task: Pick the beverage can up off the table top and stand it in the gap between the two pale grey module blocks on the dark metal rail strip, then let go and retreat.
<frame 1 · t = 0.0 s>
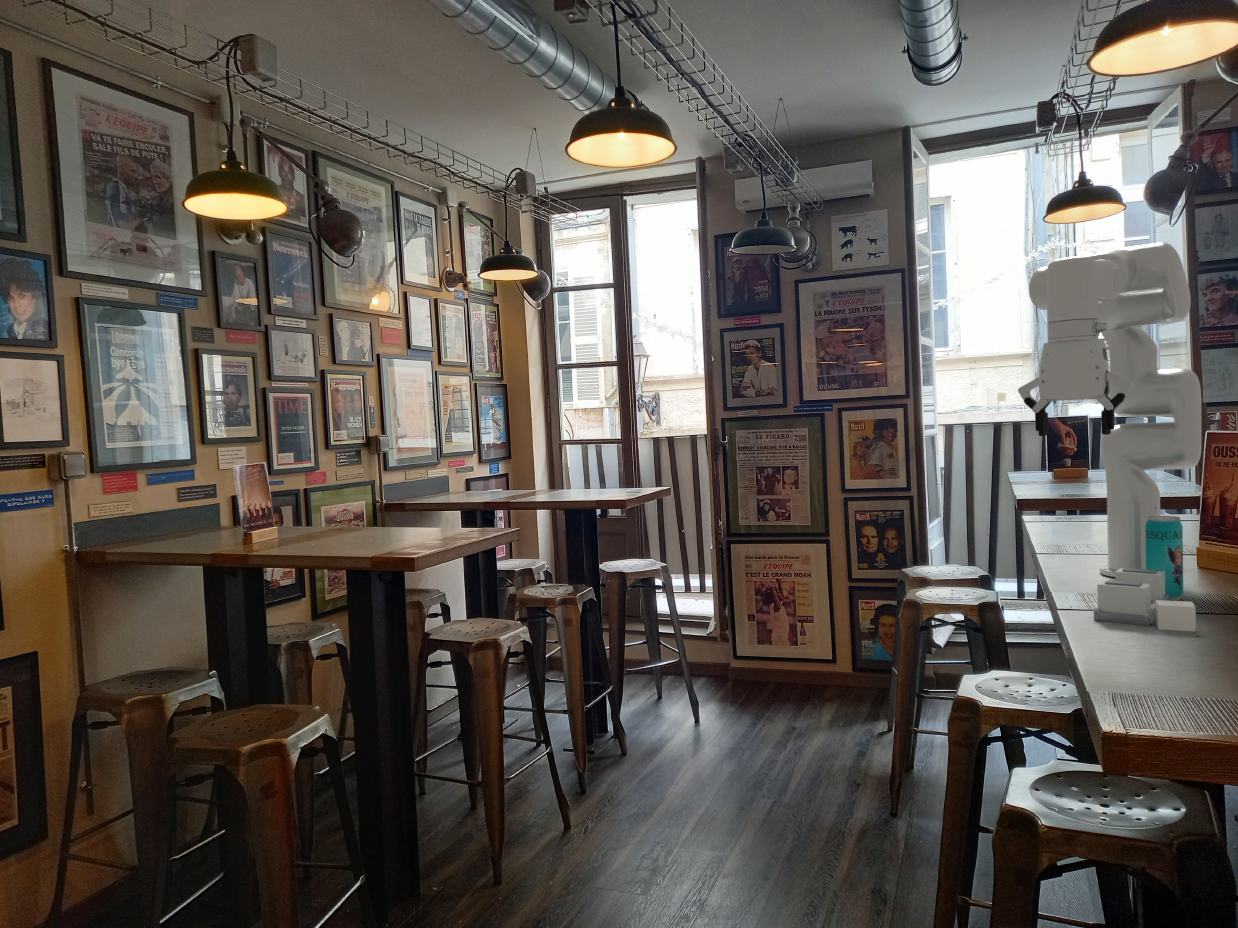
hand: (1074, 435, 145), 31 cm above the table, fingers open, 9 cm apart
module b: (1124, 619, 144), resting on rail
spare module: (1175, 628, 138), on the table
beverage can: (1164, 599, 158), on the table
rail: (1132, 611, 149), on the table
module a: (1140, 604, 154), resting on rail
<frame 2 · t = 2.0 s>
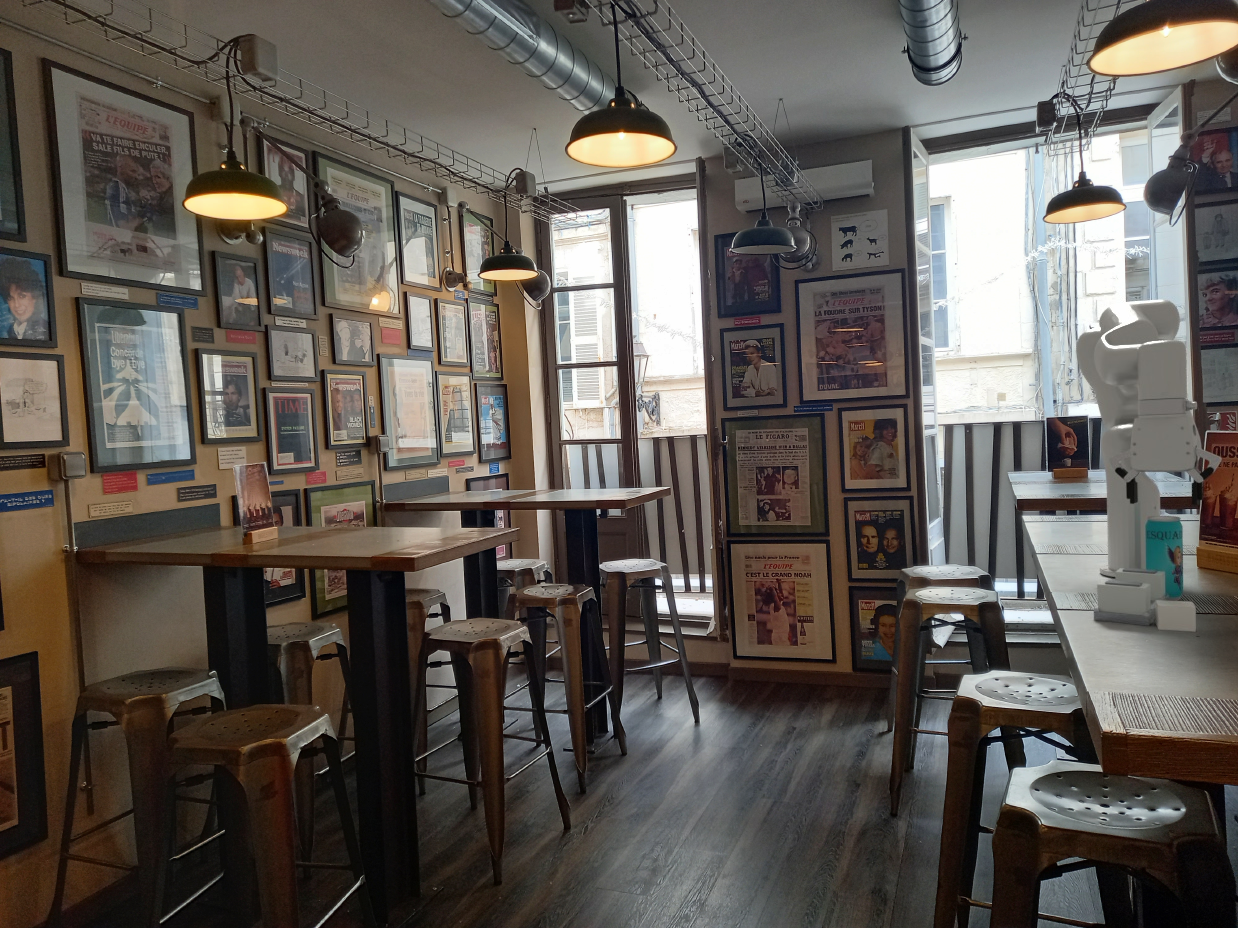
hand: (1164, 503, 157), 18 cm above the table, fingers open, 9 cm apart
nothing on the table moved.
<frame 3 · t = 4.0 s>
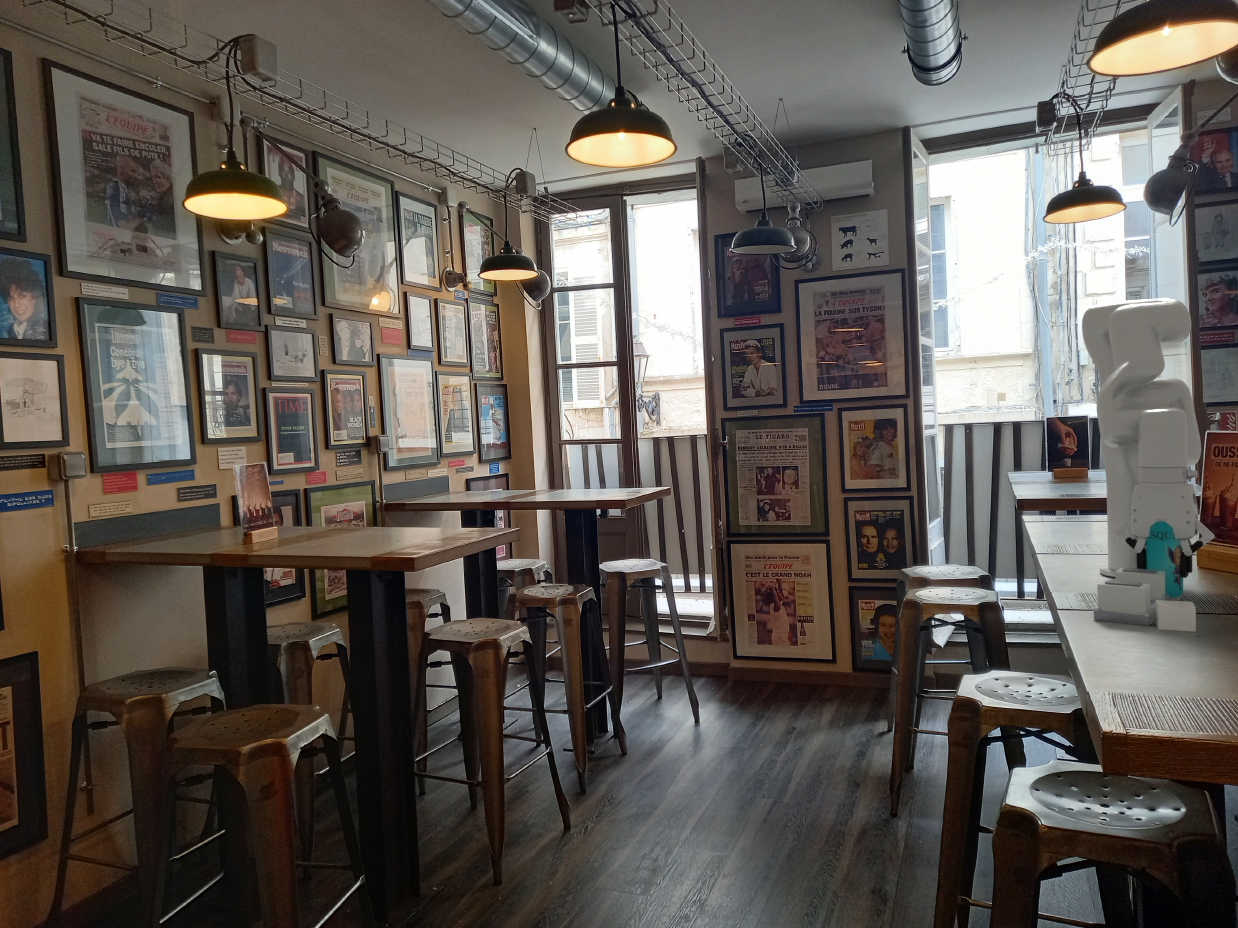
hand: (1164, 573, 158), 5 cm above the table, fingers closed on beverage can, 5 cm apart
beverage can: (1164, 599, 158), on the table, touching gripper
everything else where it was.
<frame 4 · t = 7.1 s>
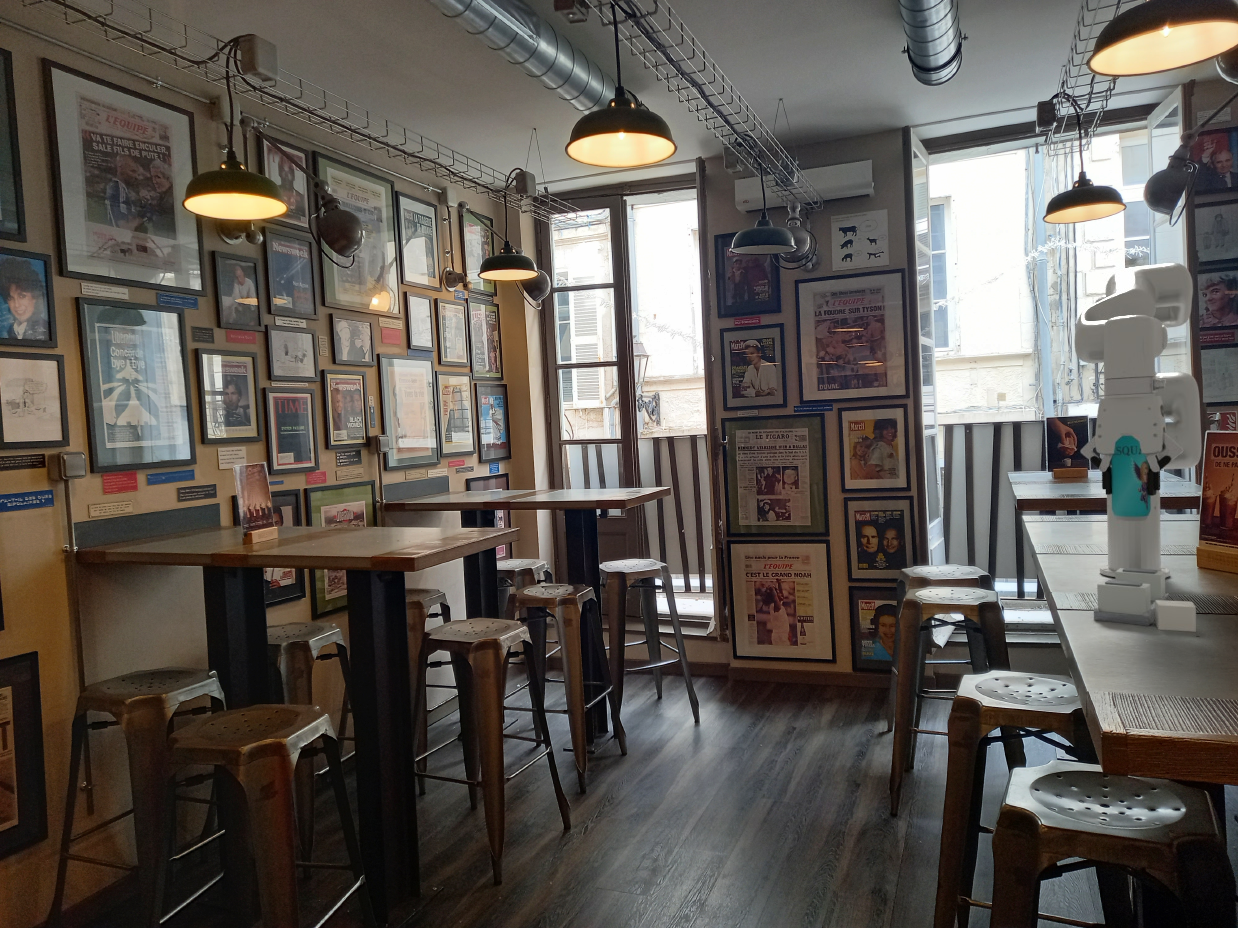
hand: (1130, 493, 148), 21 cm above the table, fingers closed on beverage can, 5 cm apart
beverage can: (1131, 520, 148), point 16 cm above the table, touching gripper
everything else where it was.
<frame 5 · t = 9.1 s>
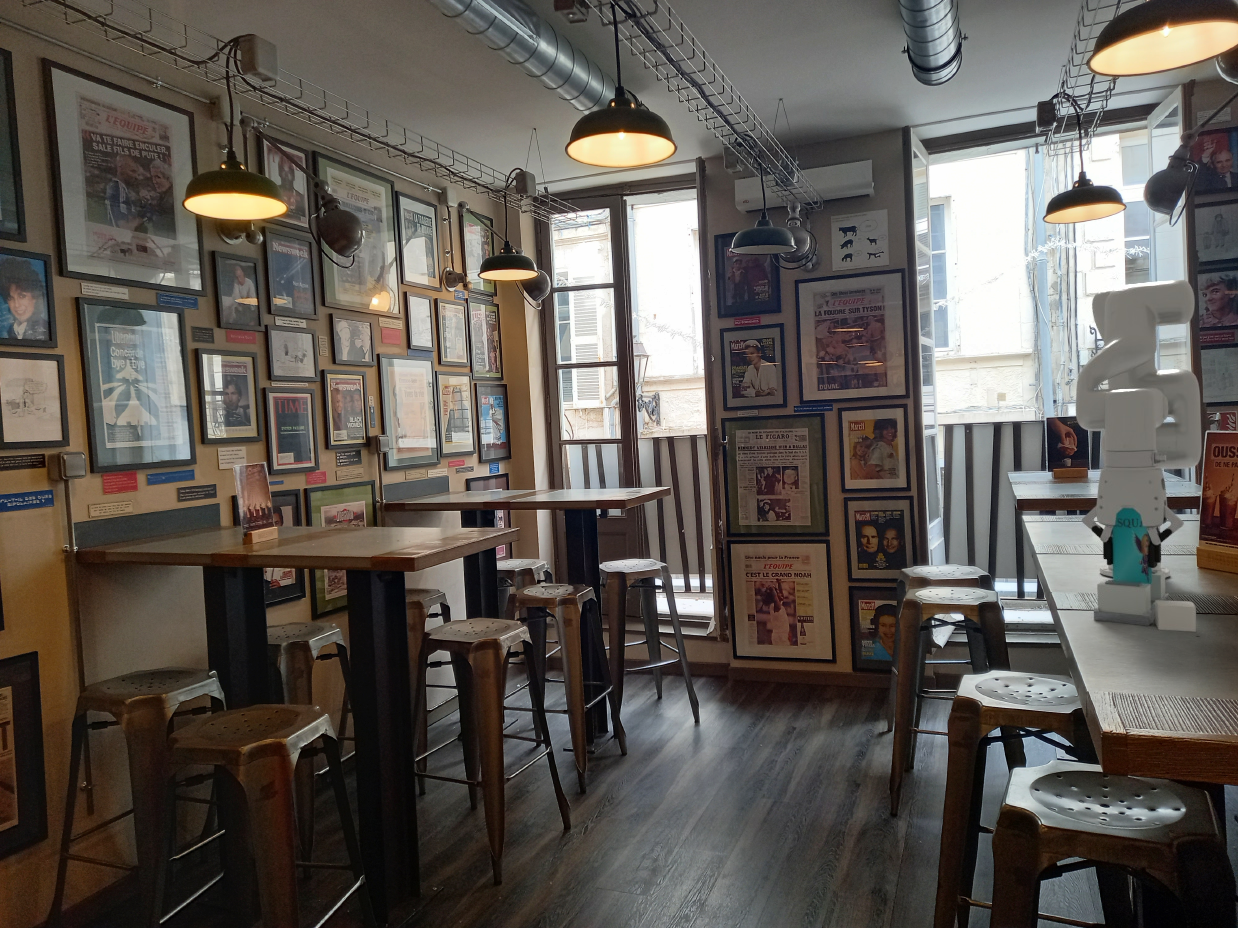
hand: (1131, 564, 149), 8 cm above the table, fingers closed on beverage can, 5 cm apart
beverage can: (1132, 591, 149), point 4 cm above the table, touching gripper
everything else where it was.
when the fingers open (7 cm above the table, at t = 10.2 s): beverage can drops 1 cm, resting on rail.
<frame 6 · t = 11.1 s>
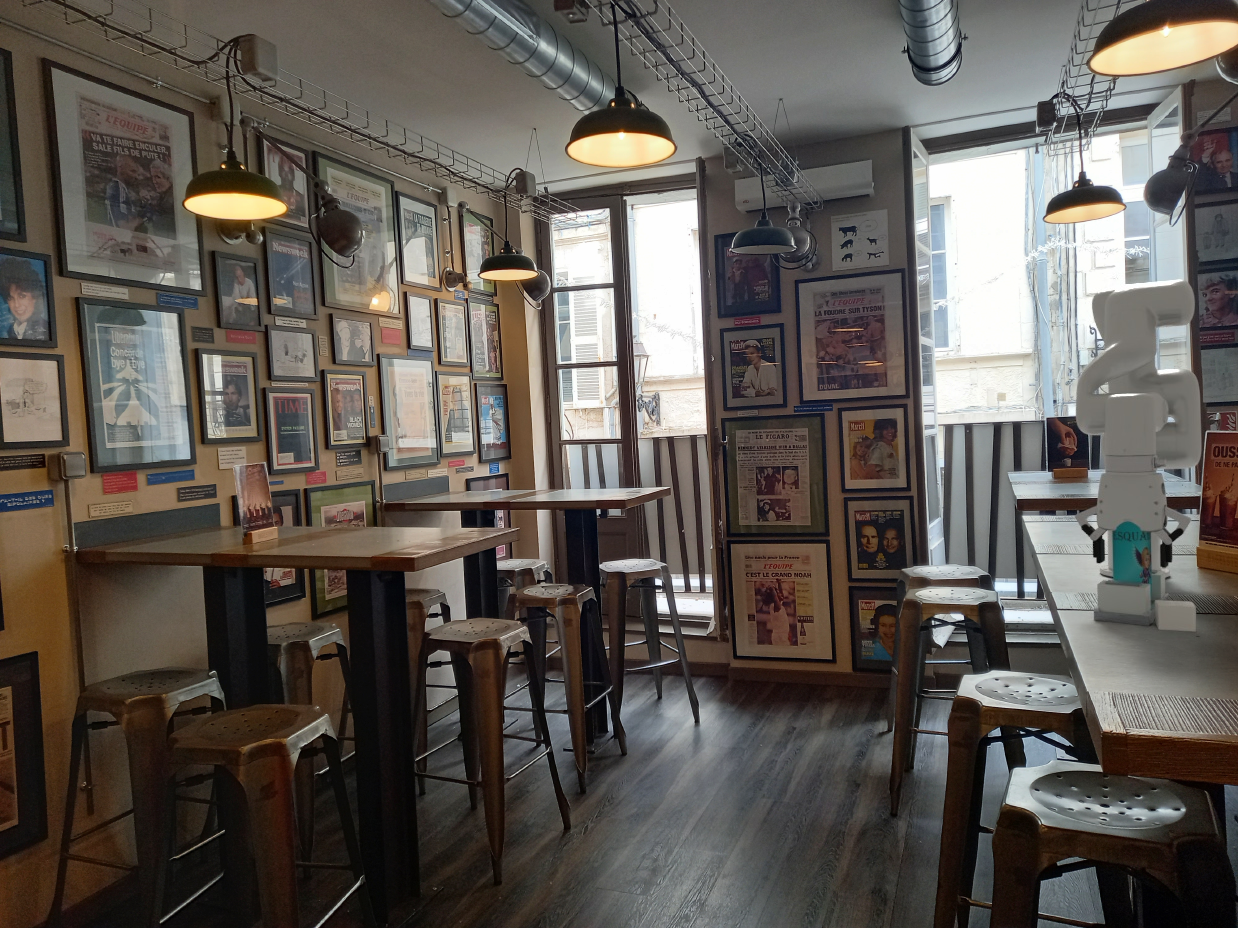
hand: (1131, 564, 149), 8 cm above the table, fingers open, 9 cm apart
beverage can: (1132, 604, 149), point 1 cm above the table, touching rail
everything else where it was.
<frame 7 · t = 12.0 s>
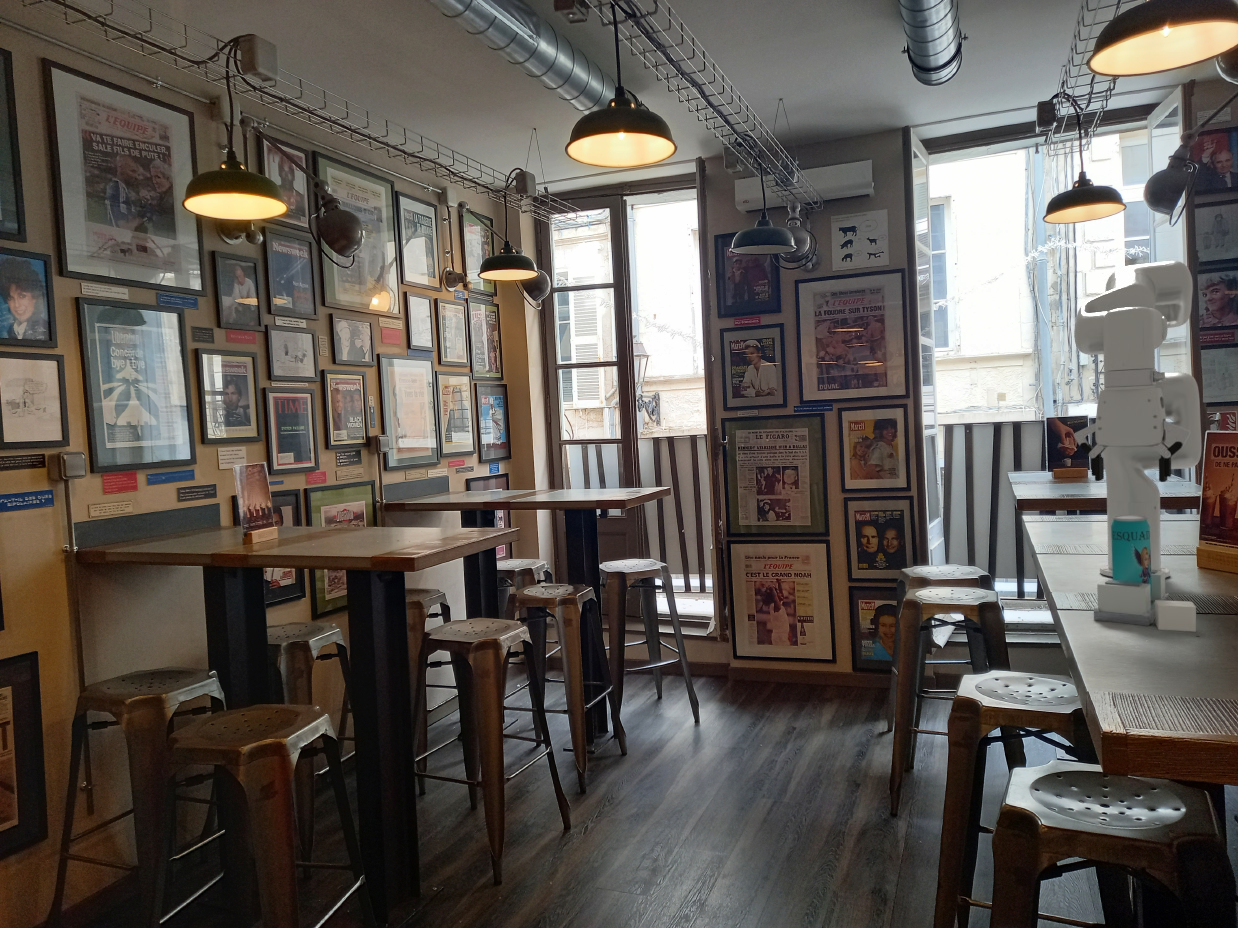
hand: (1130, 480, 148), 23 cm above the table, fingers open, 9 cm apart
nothing on the table moved.
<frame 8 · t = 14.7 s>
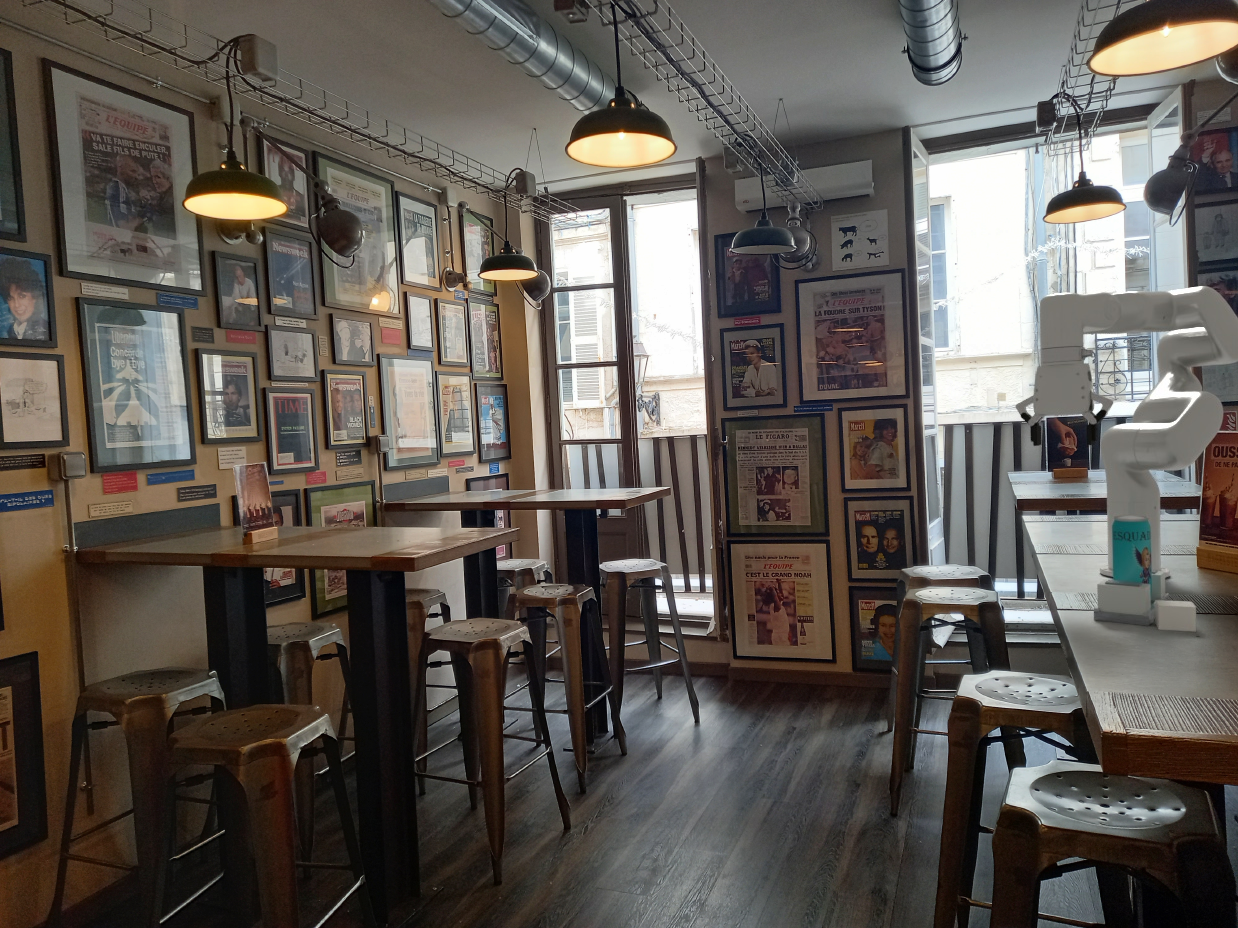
hand: (1063, 445, 169), 28 cm above the table, fingers open, 9 cm apart
nothing on the table moved.
at the end: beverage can 0.2 cm from the rail (horizontally); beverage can tilted 0°; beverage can touching rail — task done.
